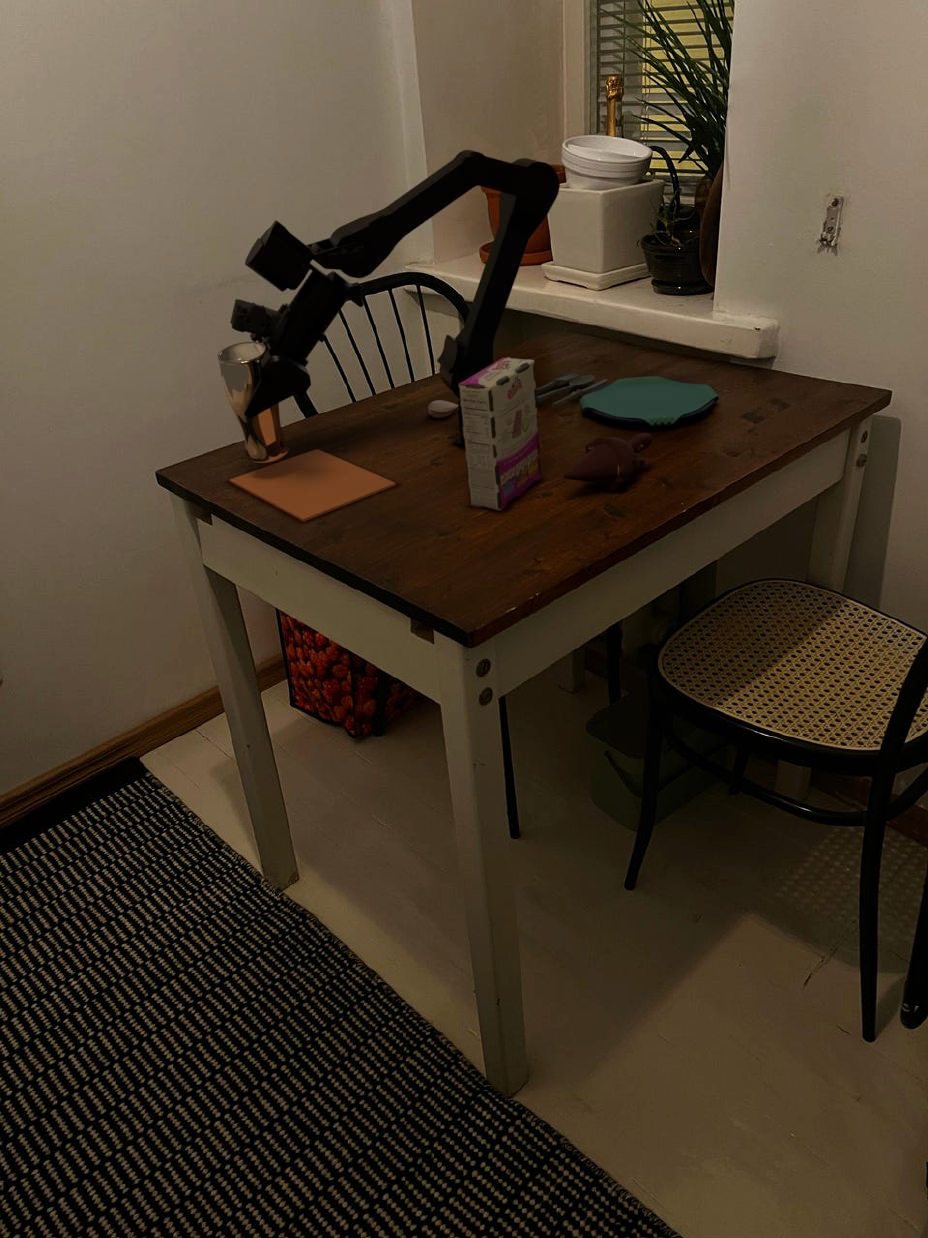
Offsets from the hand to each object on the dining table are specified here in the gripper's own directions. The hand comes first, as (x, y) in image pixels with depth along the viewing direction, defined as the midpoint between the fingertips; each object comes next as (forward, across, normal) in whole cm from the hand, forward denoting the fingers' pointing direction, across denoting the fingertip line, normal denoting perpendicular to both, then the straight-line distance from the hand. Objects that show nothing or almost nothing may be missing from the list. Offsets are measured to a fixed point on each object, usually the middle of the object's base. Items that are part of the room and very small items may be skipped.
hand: (244, 408), depth 130 cm
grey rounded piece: (-14, -14, +30) cm, 36 cm away
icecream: (-22, +23, +39) cm, 50 cm away
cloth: (+3, +4, +13) cm, 13 cm away
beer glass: (+4, -1, +6) cm, 8 cm away
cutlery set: (-32, -6, +49) cm, 59 cm away
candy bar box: (-13, +19, +30) cm, 38 cm away
